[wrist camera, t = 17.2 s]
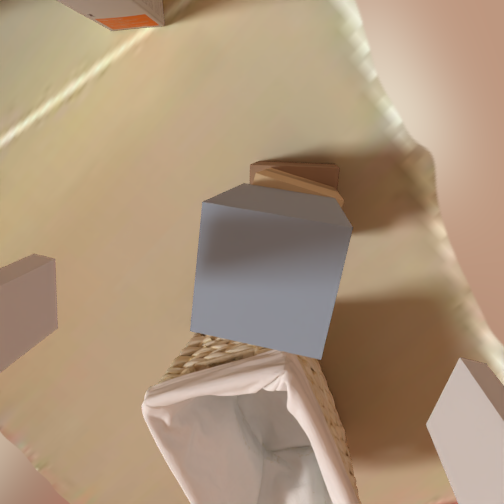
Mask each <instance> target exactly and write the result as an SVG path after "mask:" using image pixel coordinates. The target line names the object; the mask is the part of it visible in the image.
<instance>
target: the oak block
mask: <svg viewBox="0 0 504 504" xmlns="http://www.w3.org/2000/svg"><path fill="white" fill-rule="evenodd" d="M252 185H257V186H263V187H270V188H276V189H282V190H288V191H294V192H301V193H307V194H313V195H319V196H325V197H331V198H335V199H336V200H337V202H338V204H339V205H340V207H341V209H342V206H343V204H344V200H343V198H342V197H341V196H340V194H339V193H338V192H337V191H336V189H335V188H334V187H331V186H328V185H325V184H322V183H318V182H315V181H312V180H309V179H306V178H302V177H299V176H296V175H293V174H290V173H286V172H283V171H280V170H277V169H274V168H268V169H265V170H262V171H260V172H257V173H256V174H255V177H254V181H253V184H252Z"/></svg>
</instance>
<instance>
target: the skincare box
mask: <svg viewBox="0 0 504 504" xmlns="http://www.w3.org/2000/svg"><path fill="white" fill-rule="evenodd" d="M57 1H59V2H61V3H62V4H64V5H66V6H68V7H70V8H71V9H73V10H75V11H77V12H78V13H80V14H82V15H84V16H86V17H88V18H89V19H91V20H93V21H95V22H96V23H98V24H100V25H102V26H103V27H105V28H107V29H109V30H111V31H115V30H124V29H133V28H146V27H160V26H164V25H165V21H164V12H163V3H162V0H57Z"/></svg>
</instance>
